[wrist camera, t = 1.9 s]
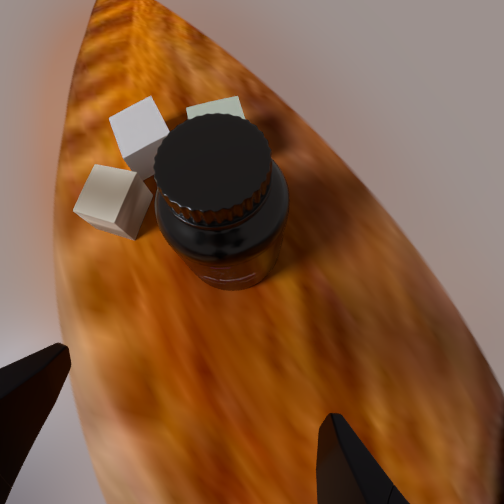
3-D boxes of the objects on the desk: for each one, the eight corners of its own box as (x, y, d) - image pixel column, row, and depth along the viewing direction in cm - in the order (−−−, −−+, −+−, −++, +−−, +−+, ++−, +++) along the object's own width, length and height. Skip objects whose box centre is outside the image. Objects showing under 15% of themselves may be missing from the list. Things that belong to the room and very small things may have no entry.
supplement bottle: (225, 311, 22) (184, 280, 11) (171, 240, 24) (100, 156, 12) (299, 252, 23) (333, 167, 12) (242, 187, 25) (226, 74, 13)
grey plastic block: (182, 160, 26) (170, 133, 22) (140, 182, 25) (123, 158, 22) (162, 123, 27) (150, 95, 23) (124, 143, 27) (108, 118, 23)
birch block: (135, 240, 24) (114, 223, 20) (96, 228, 24) (72, 210, 20) (153, 195, 25) (136, 172, 21) (115, 186, 25) (94, 164, 21)
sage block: (252, 167, 25) (249, 134, 21) (203, 178, 25) (193, 147, 21) (241, 130, 26) (237, 95, 22) (196, 140, 26) (186, 107, 22)
